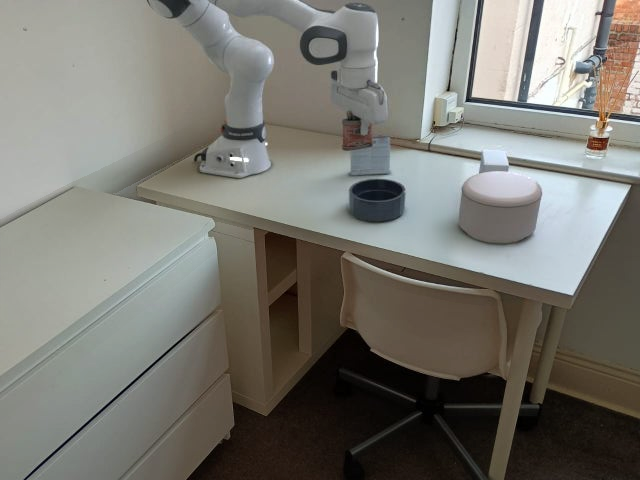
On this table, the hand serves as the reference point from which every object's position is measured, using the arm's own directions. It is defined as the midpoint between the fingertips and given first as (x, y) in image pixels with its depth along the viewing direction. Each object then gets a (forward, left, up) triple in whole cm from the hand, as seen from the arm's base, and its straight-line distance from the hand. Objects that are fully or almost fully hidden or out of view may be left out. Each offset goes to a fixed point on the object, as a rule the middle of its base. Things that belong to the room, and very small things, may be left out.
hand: (357, 131), depth 169 cm
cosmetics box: (+33, +14, -21) cm, 42 cm away
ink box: (-1, +23, -21) cm, 31 cm away
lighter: (0, 0, -4) cm, 4 cm away
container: (+35, -6, -21) cm, 42 cm away
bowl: (+5, -1, -21) cm, 22 cm away
